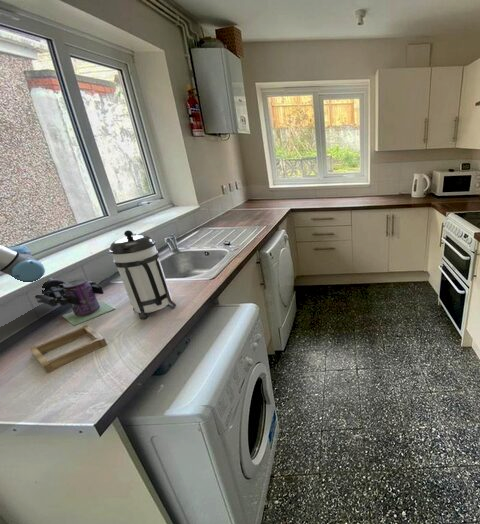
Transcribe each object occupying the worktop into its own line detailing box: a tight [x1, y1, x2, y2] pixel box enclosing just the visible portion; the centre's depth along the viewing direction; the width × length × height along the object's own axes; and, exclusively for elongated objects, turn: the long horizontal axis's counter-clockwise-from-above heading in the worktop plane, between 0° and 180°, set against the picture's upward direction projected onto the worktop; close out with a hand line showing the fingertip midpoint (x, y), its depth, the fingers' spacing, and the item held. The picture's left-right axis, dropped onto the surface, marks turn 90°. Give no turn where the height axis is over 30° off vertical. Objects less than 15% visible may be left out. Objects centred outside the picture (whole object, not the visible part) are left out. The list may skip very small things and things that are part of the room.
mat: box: [61, 300, 116, 327], centre depth 105 cm, size 12×12×1 cm
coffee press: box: [108, 229, 177, 321], centre depth 99 cm, size 17×16×30 cm
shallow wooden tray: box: [29, 324, 108, 374], centre depth 85 cm, size 14×13×2 cm
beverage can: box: [63, 278, 100, 316], centre depth 103 cm, size 7×7×12 cm
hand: (89, 295), depth 101 cm, fingers closed on beverage can, 7 cm apart
